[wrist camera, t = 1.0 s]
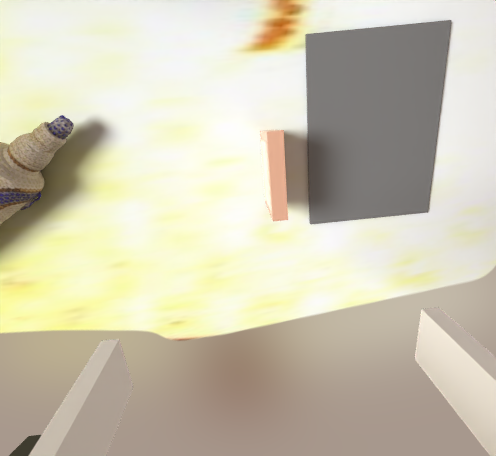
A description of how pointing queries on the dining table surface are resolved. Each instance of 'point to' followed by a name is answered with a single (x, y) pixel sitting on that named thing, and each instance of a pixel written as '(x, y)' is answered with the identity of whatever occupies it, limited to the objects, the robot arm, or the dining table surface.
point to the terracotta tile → (274, 173)
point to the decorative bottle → (28, 165)
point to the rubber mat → (373, 119)
